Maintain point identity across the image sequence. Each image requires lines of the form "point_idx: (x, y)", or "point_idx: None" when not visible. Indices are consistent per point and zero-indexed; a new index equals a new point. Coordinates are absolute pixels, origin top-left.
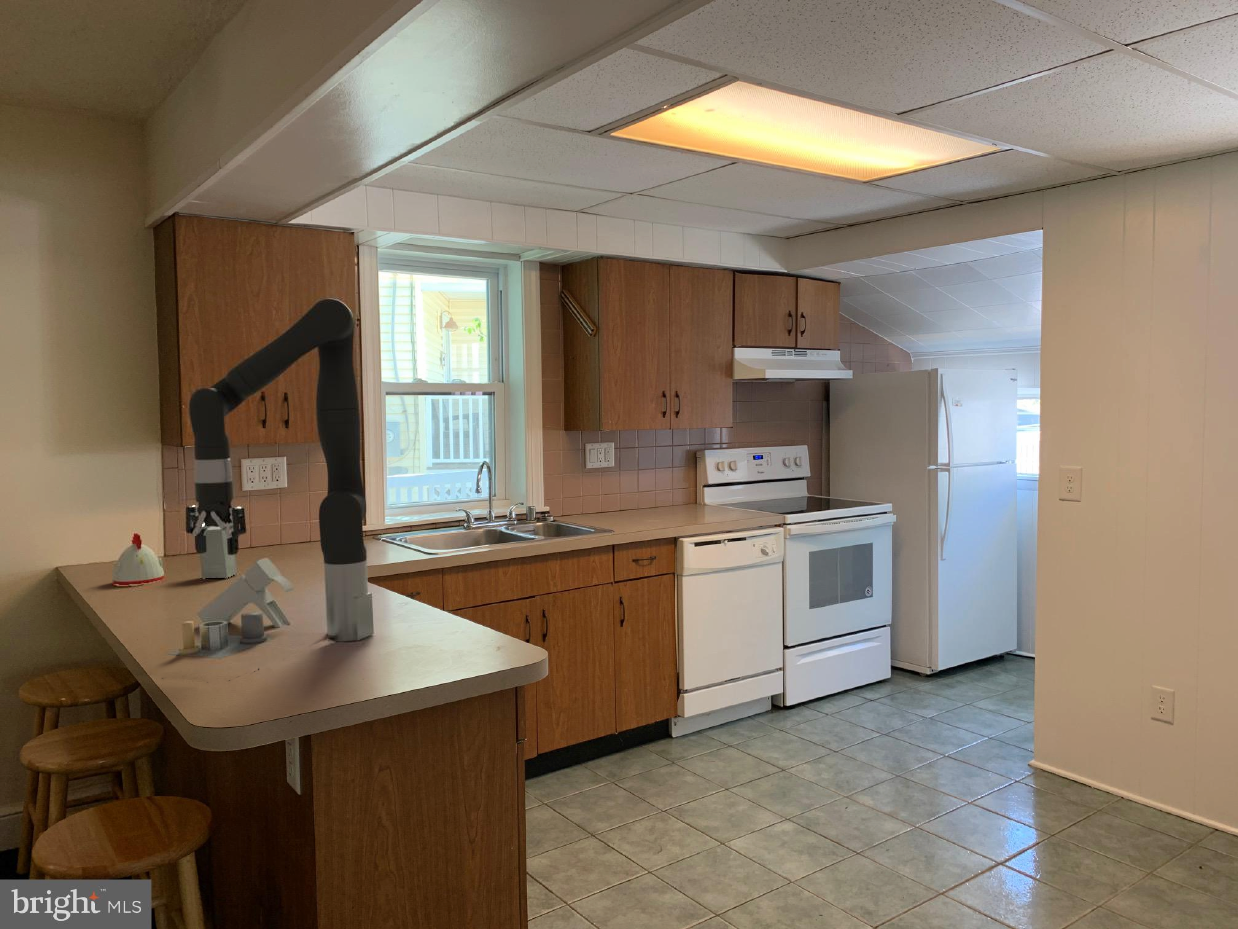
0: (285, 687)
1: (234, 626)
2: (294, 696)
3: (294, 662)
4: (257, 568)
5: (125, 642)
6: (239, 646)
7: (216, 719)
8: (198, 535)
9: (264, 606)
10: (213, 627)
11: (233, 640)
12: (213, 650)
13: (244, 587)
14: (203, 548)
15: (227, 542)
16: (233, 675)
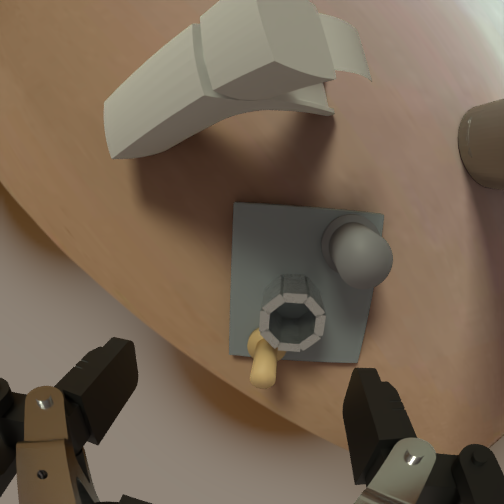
0: (479, 403)
1: None
2: (490, 417)
3: (467, 320)
4: (279, 73)
5: (67, 254)
6: (346, 289)
7: None
8: (84, 441)
9: (295, 105)
10: (310, 344)
11: (299, 246)
12: None
13: (226, 106)
14: (125, 370)
15: (354, 463)
16: (403, 393)
